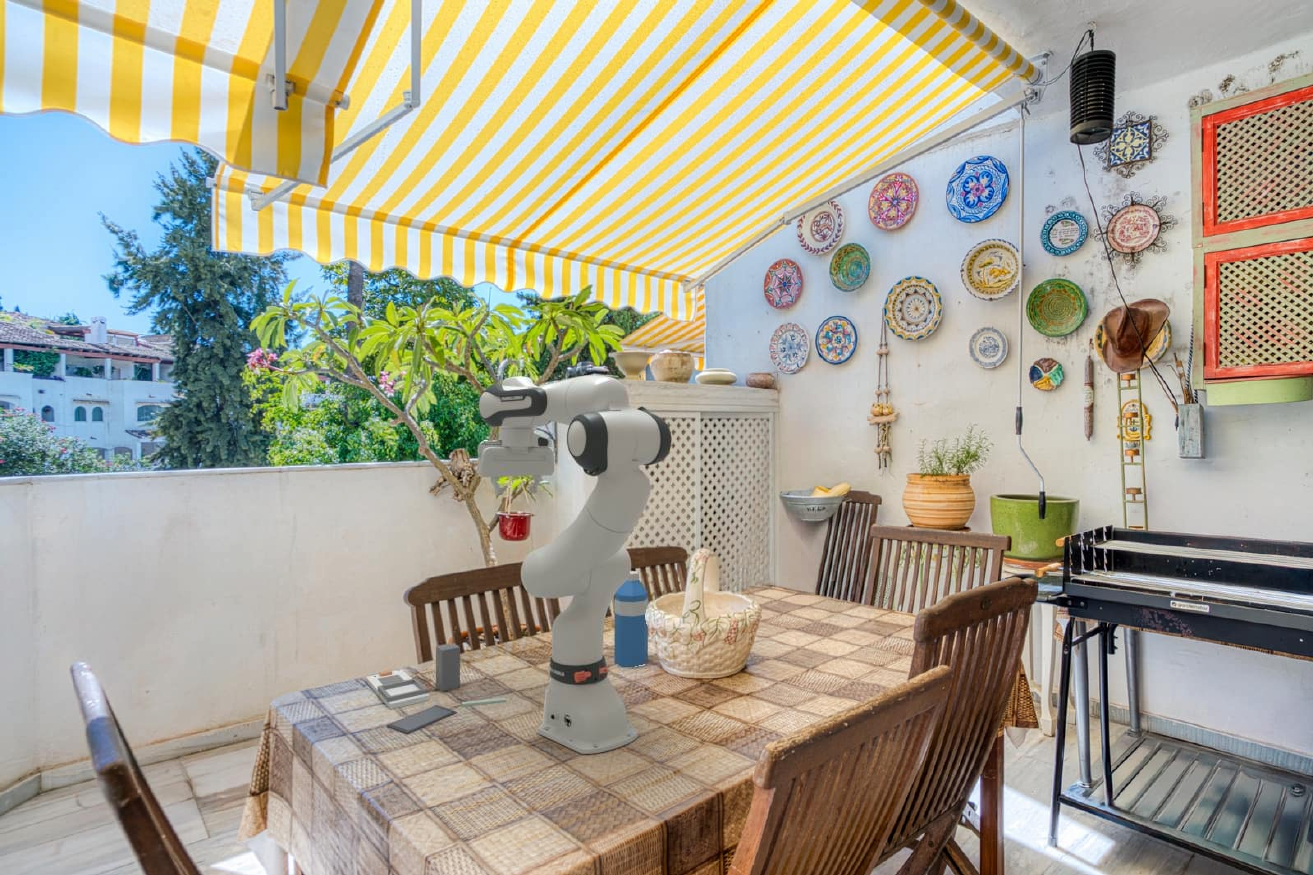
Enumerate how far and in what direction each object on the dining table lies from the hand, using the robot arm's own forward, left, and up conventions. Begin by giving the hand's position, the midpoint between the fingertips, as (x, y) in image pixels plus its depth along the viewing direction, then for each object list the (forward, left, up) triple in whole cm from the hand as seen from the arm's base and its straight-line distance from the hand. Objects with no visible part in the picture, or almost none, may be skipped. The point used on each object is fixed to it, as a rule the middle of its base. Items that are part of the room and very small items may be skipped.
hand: (516, 494), depth 168 cm
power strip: (+12, +26, -48) cm, 56 cm away
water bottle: (-6, -32, -48) cm, 58 cm away
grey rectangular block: (+7, +15, -48) cm, 51 cm away
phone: (-9, +26, -49) cm, 56 cm away
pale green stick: (-8, +12, -48) cm, 50 cm away
